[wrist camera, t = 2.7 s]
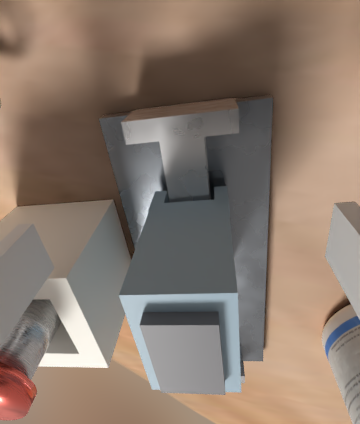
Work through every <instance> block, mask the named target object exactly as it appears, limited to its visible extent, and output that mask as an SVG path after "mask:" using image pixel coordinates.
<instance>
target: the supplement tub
mask: <svg viewBox="0 0 360 424" xmlns="http://www.w3.org/2000/svg"><path fill="white" fill-rule="evenodd" d="M322 343H323V347H324V350H325V352H326V355H327V358H328V361H329V363H330V366H331V368H332V371H333V374H334V376H335V379H336V382H337V384H338V387H339V389H340V392H341V394H342V397H343V400H344V402H345V405H346V407H347V410H348V413H349V415H350V418H351V420H352V423H353V424H360V320H359V318H358V316H357V314H356V312H355V310H354V309H353V307H352V305H351V304H350V305H348V306H346V307H344V308H342V309H341V310H339V311H338V312H337V313H335V314H334V315H333V316H332V317H331V318H330V319H329V320H328V322H327V323H326V325H325V327H324V329H323V333H322Z"/></svg>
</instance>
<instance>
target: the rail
mask: <svg viewBox="0 0 360 424" xmlns="http://www.w3.org/2000/svg"><path fill="white" fill-rule="evenodd" d="M272 113H273V97H272V96H271V95H263V96H255V97H246V98H238V99H235V98H226V99H218V100H210V101H201V102H193V103H185V104H177V105H169V106H161V107H153V108H144V109H136V110H133V111H132V112H123V113H115V114H107V115H103V116H102V117H100V118H99V122H100V125H101V129H102V132H103V136H104V140H105V143H106V147H107V150H108V154H109V158H110V161H111V165H112V168H113V172H114V176H115V179H116V183H117V186H118V190H119V194H120V197H121V201H122V205H123V208H124V212H125V215H126V219H127V223H128V226H129V230H130V233H131V237H132V241H133V244H134V248H136V246H137V243H138V240H139V237H140V234H141V232H142V229H143V226H144V223H145V220H146V218H147V215H148V210H149V207H150V204H151V202H152V199H153V196H154V193H155V191H167V192H168V198H169V203H171V202H185V201H199V200H214V187H220V186H227V189H228V198H229V209H230V225H231V235H232V244H233V253H234V263H235V272H236V281H237V291H238V314H239V342H240V371H241V383H245V375H244V365H243V361H263V346H264V320H265V294H266V268H267V242H268V216H269V190H270V165H271V139H272Z"/></svg>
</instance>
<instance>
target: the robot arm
mask: <svg viewBox="0 0 360 424" xmlns="http://www.w3.org/2000/svg"><path fill="white" fill-rule="evenodd" d="M325 257H326V259H327V261H328V263H329V265H330V266H331V268H332V270H333V272H334V274H335V276H336V277H337V279H338V281H339V283H340V285H341V287H342V288H343V290H344V292H345V294H346V296H347V298H348V299H349V301H350V303H351V305H352V307H353V309H354V310H355V312H356V314H357V316H358V318H359V320H360V206H359V205H358V204H357V203H356V202H342V203H334V208H333V214H332V219H331V225H330V231H329V237H328V242H327V248H326V254H325ZM53 270H54V265H53V263H52V261H51V259H50V257H49V255H48V253H47V251H46V249H45V247H44V245H43V243H42V240H41V238H40V236H39V234H38V232H37V230H36V228H35V226H34V224H33V223H32V224H18V225H17V226H16V227H15V228H14V229H13V230H12V231H11V232H10V233H9V234H8V235H7V236H6V237H5V238H4V239H3V240H2V241H1V242H0V347H1V346H2V344H3V343H4V341H5V340H6V338H7V337H8V335H9V334H10V333H11V331H12V330H13V328H14V327H15V325H16V324H17V322H18V321H19V319H20V318H21V316H22V315H23V313H24V312H25V311H26V309H27V308H28V306H29V305H30V303H31V302H32V300H33V299H34V297H35V296H36V294H37V293H38V292H39V290H40V289H41V287H42V286H43V284H44V283H45V281H46V280H47V278H48V277H49V275H50V274H51V272H52V271H53Z"/></svg>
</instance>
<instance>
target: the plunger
mask: <svg viewBox="0 0 360 424" xmlns="http://www.w3.org/2000/svg"><path fill="white" fill-rule="evenodd" d="M61 322H62V321H61V319H60V317H59V315H58V314H57V312H56V310H55V308H54V306H53V304H52V303H51V301H50V299H38V300H32V302H31V303H30V305H29V306H28V308H27V309H26V311H25V312H24V313H23V315H22V316H21V318H20V319H19V321H18V322H17V324H16V325H15V327H14V328H13V330H12V331H11V333H10V334H9V335H8V337H7V338H6V340H5V341H4V343H3V344H2V346H1V347H0V420H17V419H20V418H23V417H24V416H26V414H27V413H28V411H29V409H30V407H31V404H32V403H33V401H34V398H35V397H36V394H37V390H36V387H35V385H34V383H33V382H32V381H31V379H32V377H33V375H34V373H35V371H36V369H37V367H38V365H39V364H40V362H41V360H42V358H43V356H44V354H45V352H46V350H47V348H48V346H49V345H50V343H51V341H52V339H53V337H54V335H55V333H56V331H57V329H58V327H59V326H60V324H61Z"/></svg>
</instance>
